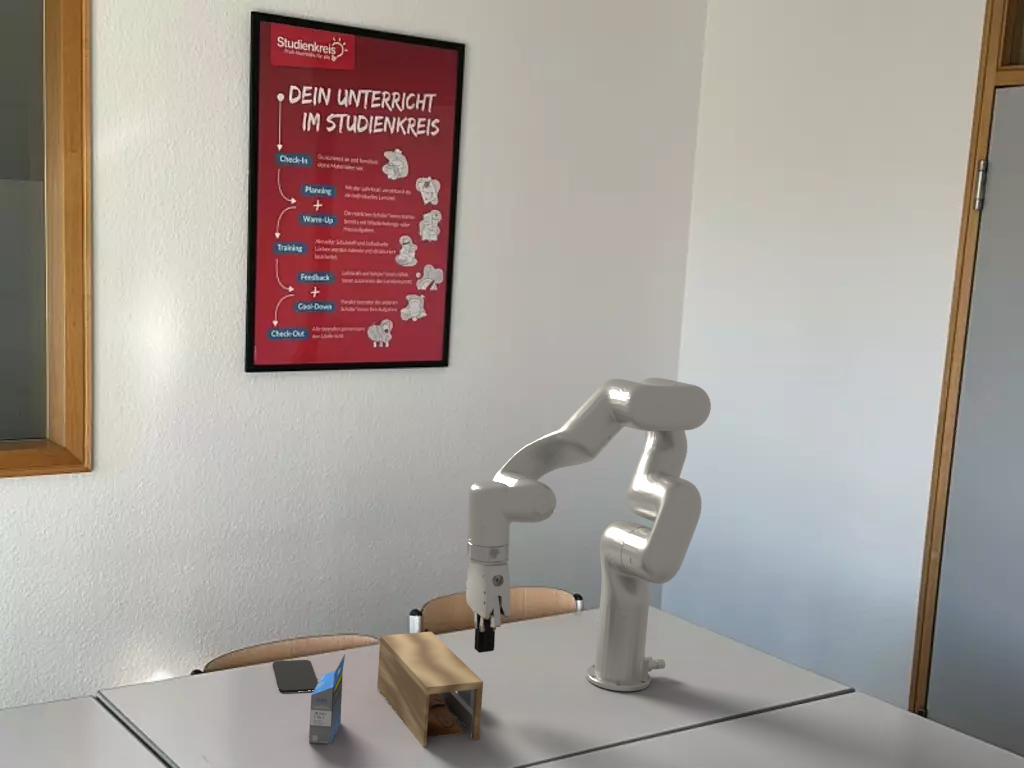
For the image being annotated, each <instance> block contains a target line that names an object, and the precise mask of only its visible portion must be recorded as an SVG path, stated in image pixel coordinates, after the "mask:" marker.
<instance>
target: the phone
mask: <svg viewBox="0 0 1024 768" xmlns="http://www.w3.org/2000/svg"><path fill="white" fill-rule="evenodd" d="M272 669H273V672H274V677H275V682H276V685H277V689H278V688H279V689H278V692H279V691H280V692H279V693H281V692H283V693H282V694H285V693H284V692H298V691H308V690H311V691H312V690H315V688H316V686H317V684H318V682H319V680H318V678H317V676H316V672H315V670H314V669H315V668H314V667H313V664H312V662H311V660H309V659H293V660H292V659H291V660H290V661H289V659H288V660H276V661H275V660H274V661H273V662H272Z"/></svg>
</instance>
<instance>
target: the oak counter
mask: <svg viewBox="0 0 1024 768" xmlns="http://www.w3.org/2000/svg"><path fill="white" fill-rule="evenodd" d="M379 637H380V638H379V654H378V668H377V669H378V671H377V684H376V685H377V686H376V687H377V688H378V689H379V691H380V692H381V693H382V694H381V693H380V692H379V691H378V692H379V693H380V694H381V695H383V696H384V697H385V698H386V699H385V698H384V697H383V696H382V697H383V698H384V699H385V701H386V700H387V701H388V702H389V703H388V702H387V701H386V702H387V703H388V704H389V705H391V706H392V707H393V708H392V707H391V706H390V707H391V708H392V709H393V711H394V710H395V711H396V712H395V711H394V712H395V713H396V715H399V716H398V717H399V719H401V721H402V722H403V723H404V725H405V726H406V727H407V728H408V729H409V731H410V732H411V733H412V735H413V736H414V737H415V738H416V739H417V741H418V742H419V743H420V745H421V746H422V747H423V748H425V747H427V740H428V737H427V725H428V710H429V694H435V693H444V692H454V691H455V692H458V691H463V690H472V689H475V693H474V708H473V722H472V733H471V740H473V741H479V740H480V731H481V718H482V717H481V716H482V703H483V688H484V681H483V680H482V679H481V678H480V677H479V676H478V675H477V674H476V673H475V672H474V671H473V670H472V669H471V668H470V667H469V666H467V664H466V663H464V662H463V660H462V659H460V658H459V656H458V655H456V654H455V653H454V652H453V651H452V650H451V649H450V647H448V646H447V644H445V643H444V642H443V641H442V640H441V639H440V638H439V637H438V636H437V635H436V634H434V633H433V631H423V632H422V631H421V632H411V633H409V632H408V633H399V634H396V633H395V634H385V635H380V636H379ZM378 689H377V690H378Z"/></svg>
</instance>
